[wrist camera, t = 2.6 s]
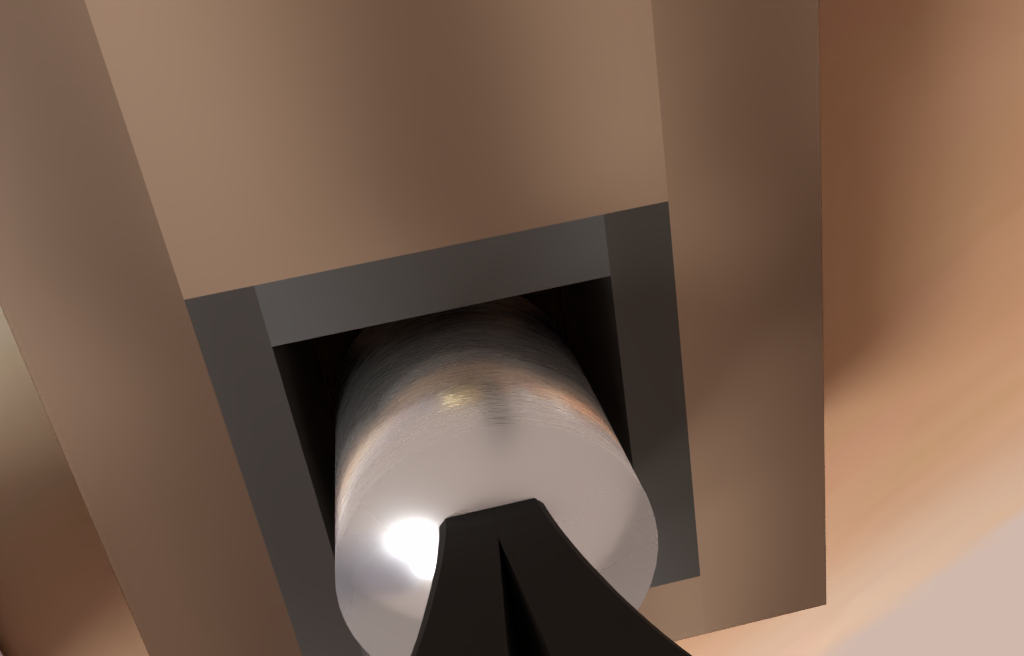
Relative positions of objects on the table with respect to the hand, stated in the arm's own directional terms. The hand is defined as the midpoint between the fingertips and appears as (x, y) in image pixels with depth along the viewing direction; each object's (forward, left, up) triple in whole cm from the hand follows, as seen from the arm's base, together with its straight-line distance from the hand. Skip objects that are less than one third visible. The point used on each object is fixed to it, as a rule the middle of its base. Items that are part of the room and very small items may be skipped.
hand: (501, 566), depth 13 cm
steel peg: (0, 0, -5) cm, 5 cm away
